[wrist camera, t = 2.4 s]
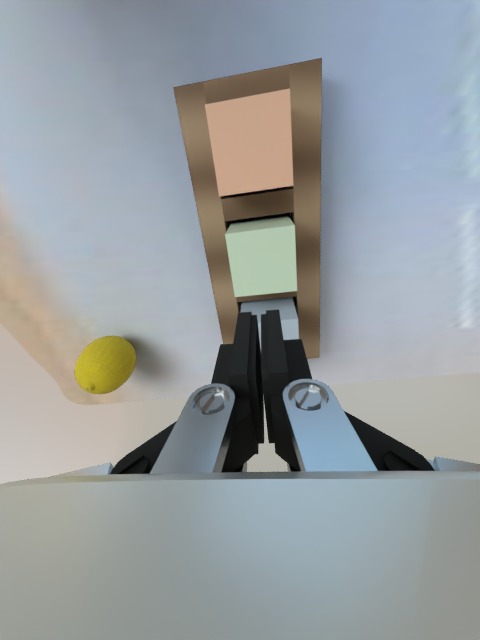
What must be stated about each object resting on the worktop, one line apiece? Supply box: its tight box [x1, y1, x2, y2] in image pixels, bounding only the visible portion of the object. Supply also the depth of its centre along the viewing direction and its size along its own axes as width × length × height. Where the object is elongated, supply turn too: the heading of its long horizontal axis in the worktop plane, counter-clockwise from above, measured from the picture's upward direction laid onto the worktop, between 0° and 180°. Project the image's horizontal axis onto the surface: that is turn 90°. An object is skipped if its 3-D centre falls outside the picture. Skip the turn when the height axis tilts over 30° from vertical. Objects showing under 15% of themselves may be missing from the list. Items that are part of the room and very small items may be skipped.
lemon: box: [75, 336, 136, 394], centre depth 29 cm, size 6×6×8 cm
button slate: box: [240, 297, 299, 349], centre depth 26 cm, size 5×5×5 cm
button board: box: [173, 58, 322, 358], centre depth 25 cm, size 24×10×3 cm, turn 8°
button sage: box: [225, 216, 297, 297], centre depth 22 cm, size 5×5×5 cm
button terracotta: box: [205, 89, 293, 196], centre depth 19 cm, size 5×5×5 cm
